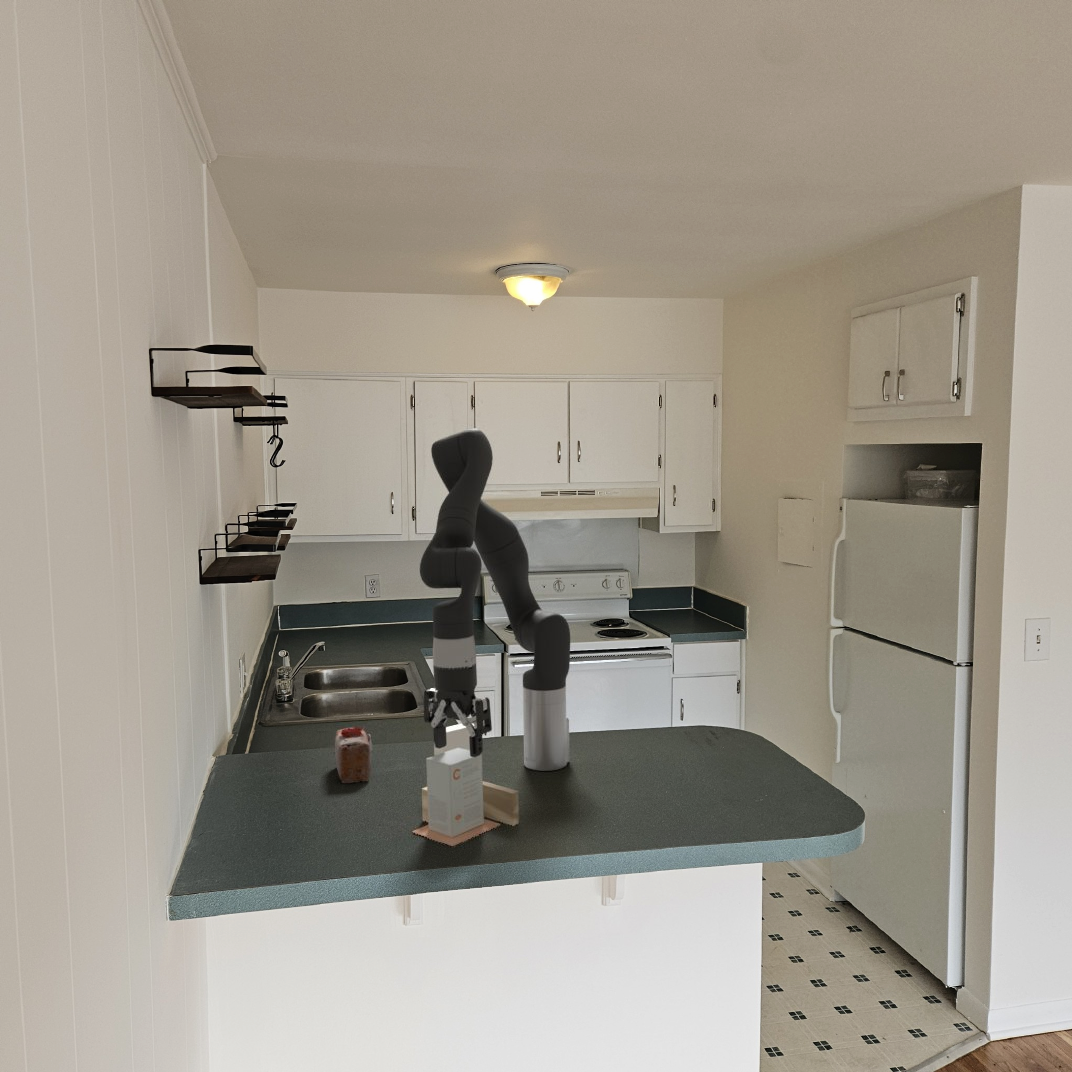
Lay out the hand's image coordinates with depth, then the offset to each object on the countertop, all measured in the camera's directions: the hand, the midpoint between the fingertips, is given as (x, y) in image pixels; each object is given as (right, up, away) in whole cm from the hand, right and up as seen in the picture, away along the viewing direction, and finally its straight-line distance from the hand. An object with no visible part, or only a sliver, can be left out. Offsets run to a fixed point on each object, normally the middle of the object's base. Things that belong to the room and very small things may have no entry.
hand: (458, 751), depth 164 cm
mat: (0, -14, +1) cm, 14 cm away
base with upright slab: (-2, -13, +24) cm, 27 cm away
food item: (-25, -12, +33) cm, 43 cm away
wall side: (-3, -14, +8) cm, 16 cm away
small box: (0, -14, +2) cm, 14 cm away
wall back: (+5, -14, +7) cm, 16 cm away
